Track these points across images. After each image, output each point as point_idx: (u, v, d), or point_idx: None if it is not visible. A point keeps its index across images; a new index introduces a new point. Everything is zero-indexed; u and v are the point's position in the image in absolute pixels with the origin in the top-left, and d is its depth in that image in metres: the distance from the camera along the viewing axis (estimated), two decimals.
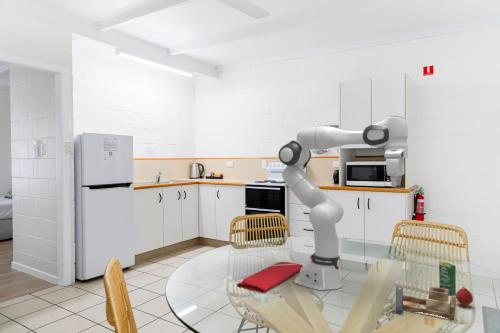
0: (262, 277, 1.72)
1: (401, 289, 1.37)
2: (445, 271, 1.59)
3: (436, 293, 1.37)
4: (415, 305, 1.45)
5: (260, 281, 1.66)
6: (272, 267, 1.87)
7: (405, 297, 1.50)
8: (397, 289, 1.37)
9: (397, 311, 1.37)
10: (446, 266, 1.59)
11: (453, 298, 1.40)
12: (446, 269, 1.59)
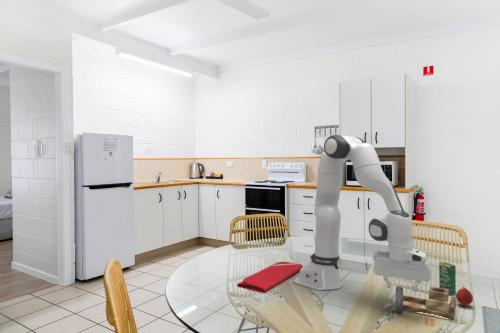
0: (262, 277, 1.72)
1: (401, 289, 1.37)
2: (445, 271, 1.59)
3: (436, 293, 1.37)
4: (415, 305, 1.45)
5: (260, 281, 1.66)
6: (272, 267, 1.88)
7: (405, 297, 1.50)
8: (397, 289, 1.37)
9: (397, 311, 1.37)
10: (446, 266, 1.59)
11: (453, 298, 1.40)
12: (446, 269, 1.59)
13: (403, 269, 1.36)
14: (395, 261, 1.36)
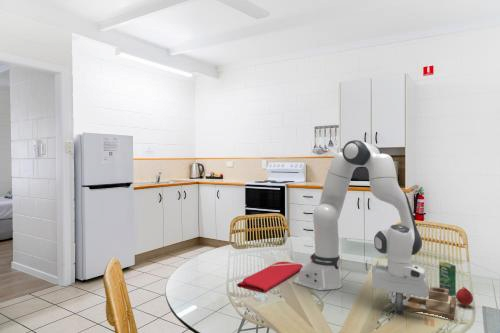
0: (262, 277, 1.72)
1: None
2: (445, 271, 1.59)
3: (436, 293, 1.37)
4: (415, 305, 1.45)
5: (260, 281, 1.67)
6: (272, 267, 1.88)
7: (405, 297, 1.50)
8: None
9: (397, 311, 1.37)
10: (446, 266, 1.59)
11: (453, 298, 1.40)
12: (446, 269, 1.59)
13: (401, 284, 1.36)
14: (394, 276, 1.36)
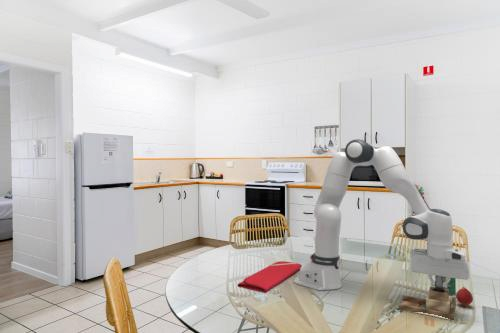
0: (263, 277, 1.72)
1: None
2: None
3: (436, 293, 1.37)
4: (415, 305, 1.45)
5: (261, 281, 1.67)
6: (271, 267, 1.88)
7: (405, 297, 1.50)
8: None
9: None
10: None
11: (453, 298, 1.40)
12: None
13: (442, 267, 1.37)
14: (434, 259, 1.38)
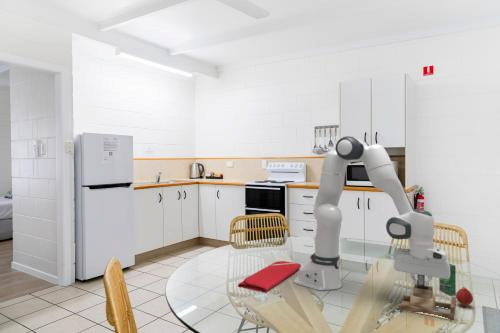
0: (263, 277, 1.72)
1: None
2: None
3: (420, 290, 1.40)
4: None
5: (261, 281, 1.67)
6: (271, 267, 1.88)
7: (405, 297, 1.50)
8: None
9: None
10: None
11: (453, 298, 1.40)
12: None
13: (423, 266, 1.40)
14: (416, 258, 1.41)
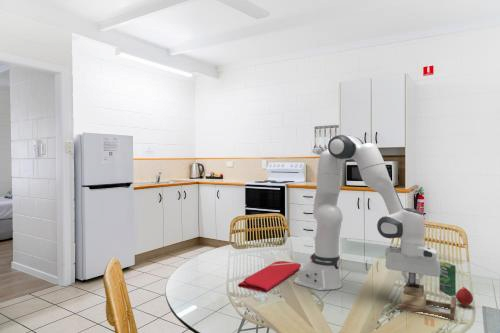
0: (263, 277, 1.72)
1: None
2: (445, 271, 1.59)
3: (411, 288, 1.41)
4: None
5: (261, 281, 1.67)
6: (271, 266, 1.89)
7: None
8: None
9: None
10: (446, 266, 1.59)
11: (453, 298, 1.40)
12: (446, 269, 1.59)
13: (414, 265, 1.42)
14: (407, 256, 1.43)
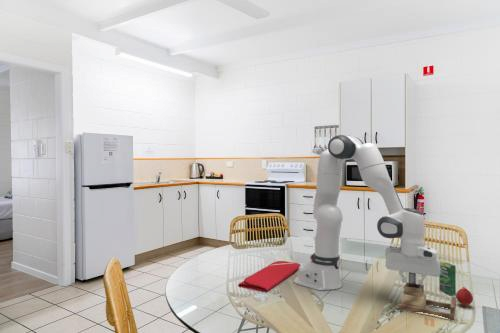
0: (263, 277, 1.72)
1: None
2: (445, 271, 1.59)
3: (411, 288, 1.41)
4: None
5: (261, 281, 1.67)
6: (270, 266, 1.89)
7: None
8: None
9: None
10: (446, 266, 1.59)
11: (453, 298, 1.40)
12: (446, 269, 1.59)
13: (414, 265, 1.42)
14: (407, 256, 1.43)
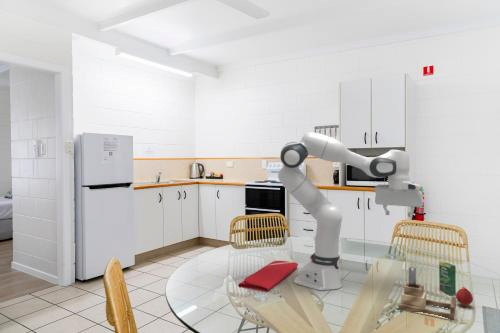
0: (263, 277, 1.73)
1: (414, 270, 1.43)
2: (445, 271, 1.59)
3: (411, 288, 1.41)
4: None
5: (262, 280, 1.67)
6: (269, 266, 1.89)
7: None
8: (410, 270, 1.44)
9: None
10: (446, 266, 1.59)
11: (453, 298, 1.40)
12: (446, 269, 1.59)
13: (400, 198, 1.60)
14: (393, 191, 1.60)
